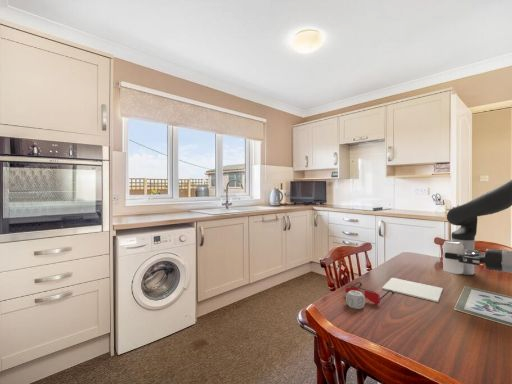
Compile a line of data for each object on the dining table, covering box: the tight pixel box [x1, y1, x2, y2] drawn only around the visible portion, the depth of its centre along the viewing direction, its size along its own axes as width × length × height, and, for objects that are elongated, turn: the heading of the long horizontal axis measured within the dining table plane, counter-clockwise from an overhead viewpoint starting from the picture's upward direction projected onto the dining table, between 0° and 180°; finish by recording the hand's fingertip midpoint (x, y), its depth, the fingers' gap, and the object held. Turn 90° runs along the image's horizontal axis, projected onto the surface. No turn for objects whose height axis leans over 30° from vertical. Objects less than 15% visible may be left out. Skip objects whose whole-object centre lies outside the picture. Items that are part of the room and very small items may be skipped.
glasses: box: [344, 281, 395, 305], centre depth 106 cm, size 14×16×5 cm
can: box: [442, 239, 464, 275], centre depth 102 cm, size 6×6×12 cm
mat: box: [381, 277, 444, 303], centre depth 111 cm, size 16×20×1 cm
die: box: [345, 290, 366, 310], centre depth 96 cm, size 5×5×5 cm
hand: (446, 253), depth 104 cm, fingers closed on can, 6 cm apart
